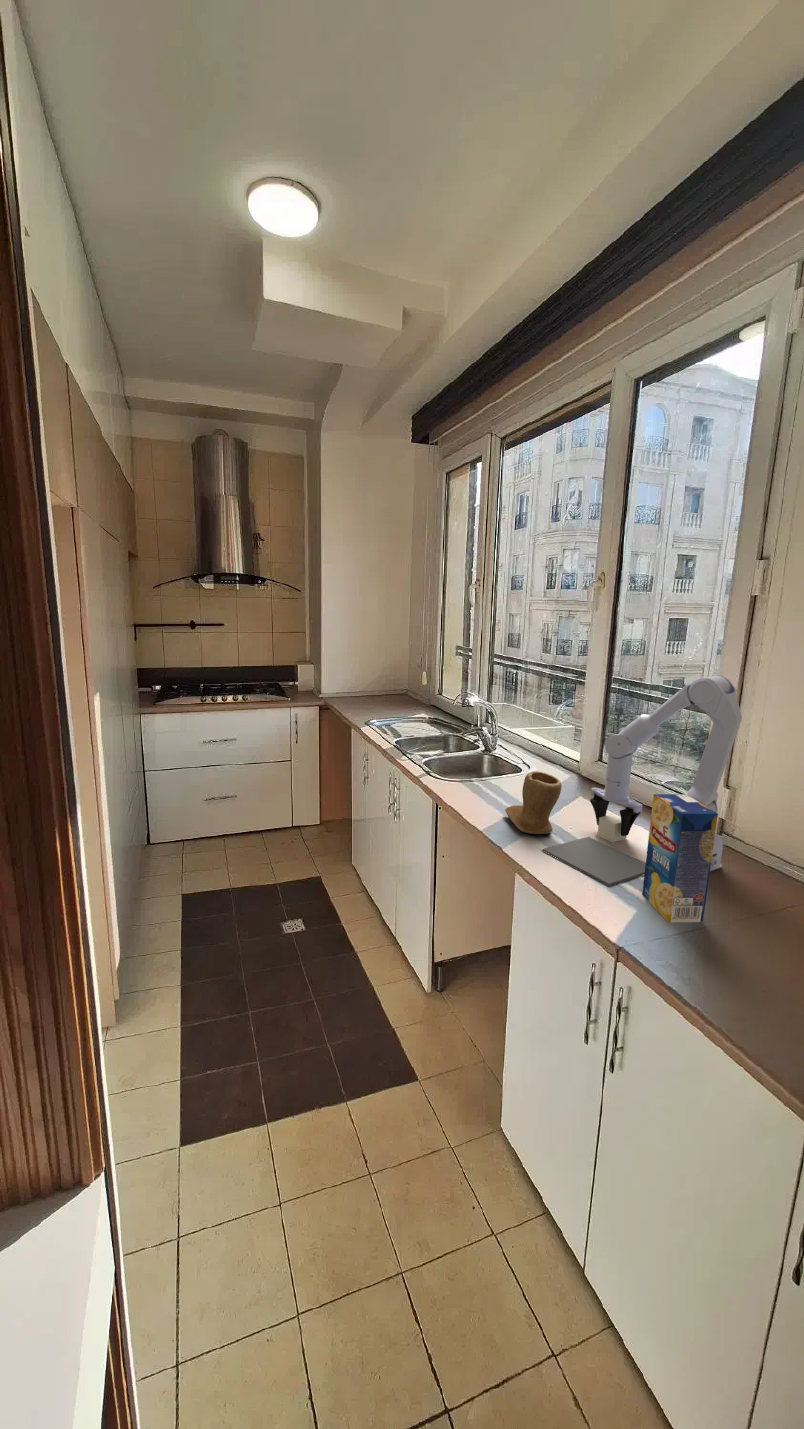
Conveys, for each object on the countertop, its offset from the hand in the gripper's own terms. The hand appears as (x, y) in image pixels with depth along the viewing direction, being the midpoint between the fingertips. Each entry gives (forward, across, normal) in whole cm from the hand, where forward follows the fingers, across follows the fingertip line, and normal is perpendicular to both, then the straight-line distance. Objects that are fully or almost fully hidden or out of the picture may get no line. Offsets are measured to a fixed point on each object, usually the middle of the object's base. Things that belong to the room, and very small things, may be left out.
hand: (612, 829), depth 152 cm
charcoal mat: (+2, -8, +14) cm, 17 cm away
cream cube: (+2, 0, 0) cm, 2 cm away
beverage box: (+2, -30, +18) cm, 35 cm away
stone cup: (+2, +15, +14) cm, 20 cm away
